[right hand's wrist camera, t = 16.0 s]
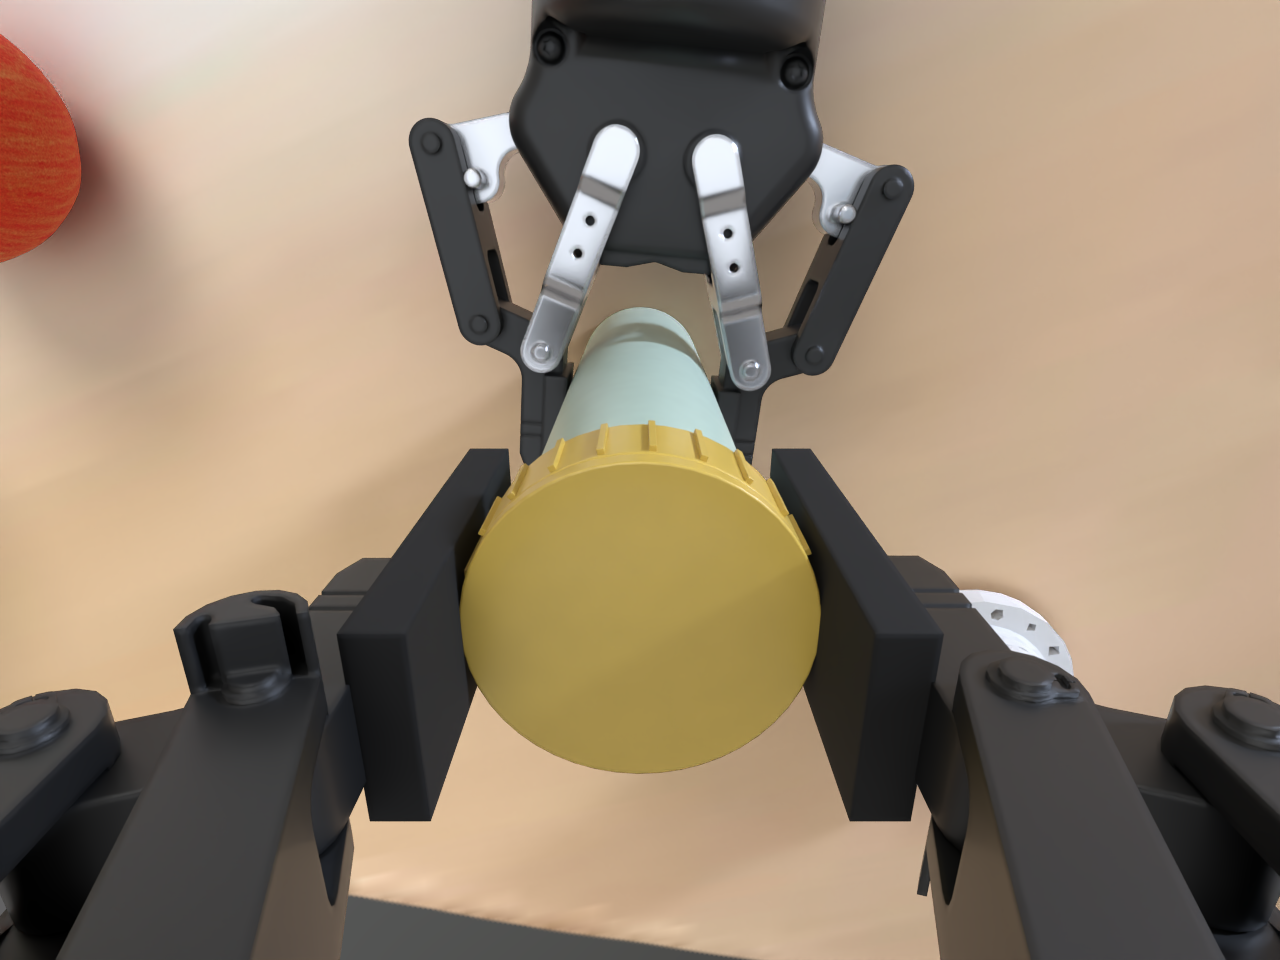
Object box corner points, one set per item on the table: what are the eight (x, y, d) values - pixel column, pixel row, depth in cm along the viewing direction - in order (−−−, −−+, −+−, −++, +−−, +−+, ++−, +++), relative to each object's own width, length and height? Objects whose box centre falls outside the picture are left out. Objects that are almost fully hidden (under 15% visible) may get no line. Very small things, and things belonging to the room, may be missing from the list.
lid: (860, 495, 11) (898, 545, 10) (715, 741, 13) (727, 820, 11) (548, 364, 11) (529, 393, 9) (439, 643, 12) (407, 712, 11)
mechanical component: (1003, 546, 31) (804, 655, 33) (1059, 597, 27) (829, 718, 29) (1089, 700, 34) (902, 791, 36) (1152, 768, 30) (936, 867, 32)
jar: (617, 437, 29) (583, 767, 12) (562, 340, 28) (433, 553, 10) (715, 388, 28) (833, 662, 11) (665, 285, 27) (709, 416, 10)
